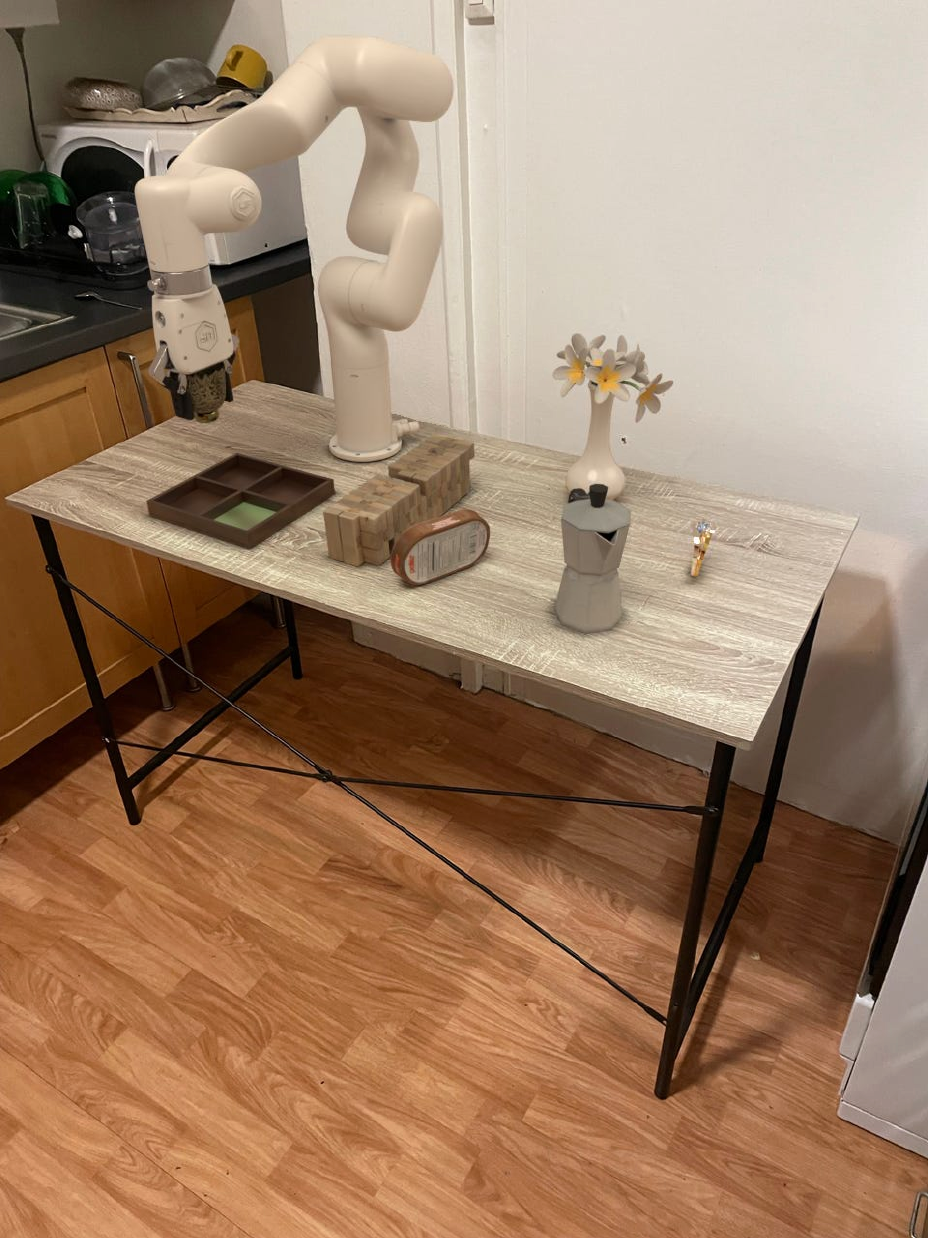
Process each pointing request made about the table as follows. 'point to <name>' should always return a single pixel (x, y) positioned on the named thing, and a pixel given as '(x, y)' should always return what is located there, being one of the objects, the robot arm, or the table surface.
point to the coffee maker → (591, 560)
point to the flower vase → (605, 404)
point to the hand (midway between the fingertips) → (205, 407)
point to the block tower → (398, 500)
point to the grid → (241, 499)
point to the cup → (207, 392)
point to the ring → (700, 543)
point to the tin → (440, 546)
